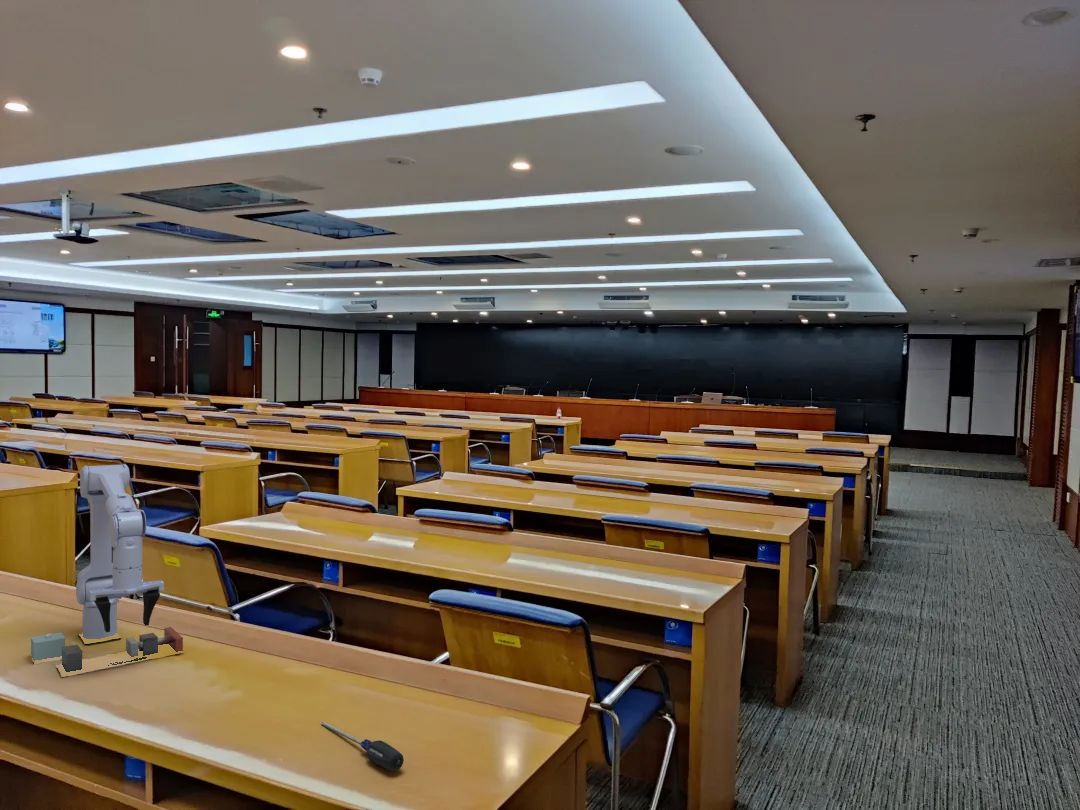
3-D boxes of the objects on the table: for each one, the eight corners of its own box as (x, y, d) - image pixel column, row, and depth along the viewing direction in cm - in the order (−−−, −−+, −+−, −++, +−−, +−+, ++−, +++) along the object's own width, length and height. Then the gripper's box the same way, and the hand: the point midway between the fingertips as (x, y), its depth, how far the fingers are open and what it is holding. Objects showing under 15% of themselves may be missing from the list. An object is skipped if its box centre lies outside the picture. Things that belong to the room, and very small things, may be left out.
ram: (123, 647, 177) (123, 635, 177) (170, 639, 184) (170, 626, 184) (133, 660, 170) (133, 647, 170) (182, 650, 177) (182, 637, 177)
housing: (30, 658, 173) (31, 633, 172) (61, 653, 176) (61, 628, 176) (34, 665, 169) (34, 639, 169) (65, 659, 173) (65, 634, 173)
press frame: (55, 667, 168) (55, 646, 168) (174, 644, 184) (174, 625, 184) (61, 678, 162) (61, 657, 161) (183, 653, 178) (183, 634, 178)
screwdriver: (312, 726, 142) (312, 707, 142) (330, 721, 144) (330, 701, 144) (389, 780, 123) (389, 758, 123) (407, 773, 126) (407, 750, 126)
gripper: (93, 574, 157) (92, 639, 157) (168, 565, 166) (167, 625, 167) (86, 568, 162) (86, 630, 163) (159, 559, 172) (159, 617, 172)
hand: (126, 627), depth 165 cm, fingers open, 7 cm apart
